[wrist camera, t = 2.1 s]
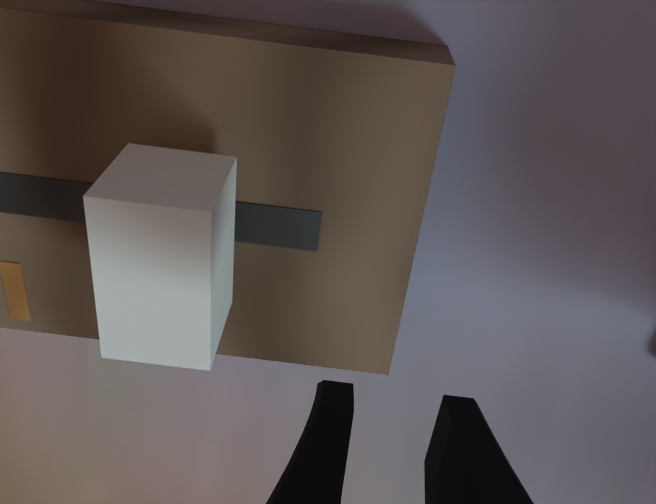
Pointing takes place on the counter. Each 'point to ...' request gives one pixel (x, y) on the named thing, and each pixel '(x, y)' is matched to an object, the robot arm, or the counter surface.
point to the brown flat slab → (232, 140)
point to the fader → (162, 254)
